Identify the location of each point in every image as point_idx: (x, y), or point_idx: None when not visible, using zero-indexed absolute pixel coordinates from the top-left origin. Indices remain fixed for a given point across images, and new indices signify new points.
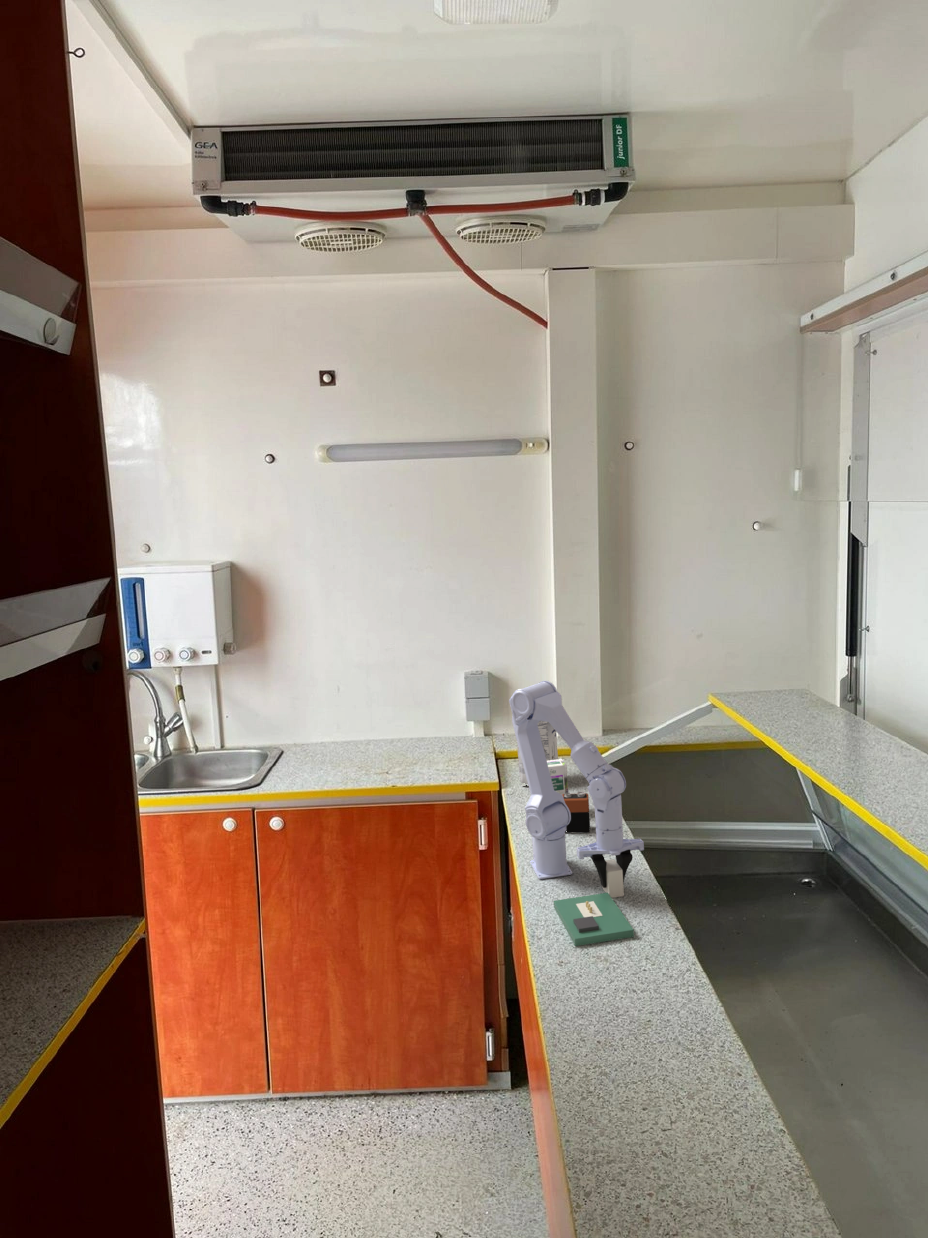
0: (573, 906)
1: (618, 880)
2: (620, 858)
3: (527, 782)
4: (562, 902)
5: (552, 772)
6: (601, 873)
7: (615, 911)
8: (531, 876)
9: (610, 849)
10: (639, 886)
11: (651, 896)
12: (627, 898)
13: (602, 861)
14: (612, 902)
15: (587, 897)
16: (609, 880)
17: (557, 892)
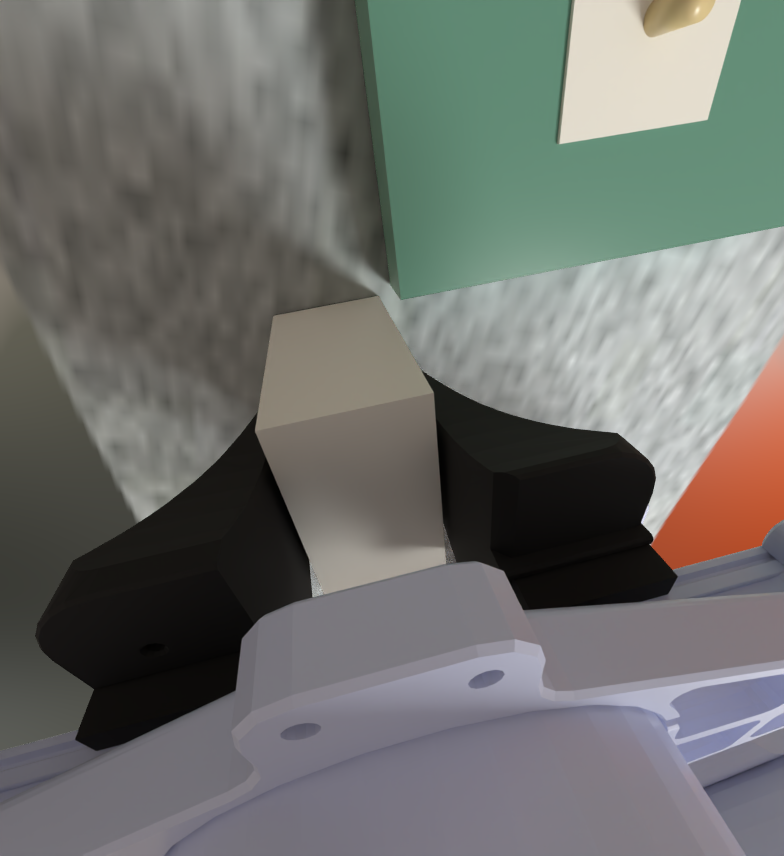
0: (743, 78)
1: (309, 363)
2: (264, 583)
3: None
4: (765, 182)
5: None
6: (483, 408)
7: None
8: (650, 519)
9: (524, 757)
10: (162, 434)
11: (37, 288)
12: (245, 279)
13: (562, 484)
14: (397, 81)
15: (569, 238)
16: (399, 353)
17: (629, 395)
